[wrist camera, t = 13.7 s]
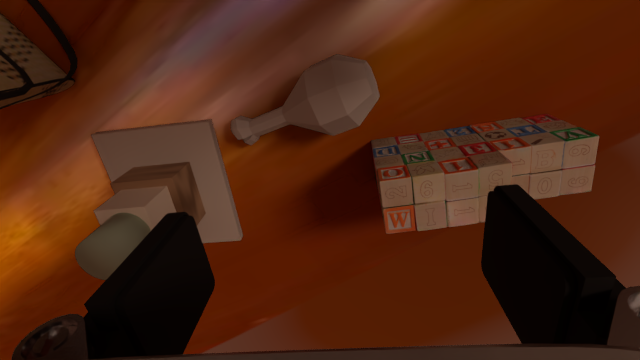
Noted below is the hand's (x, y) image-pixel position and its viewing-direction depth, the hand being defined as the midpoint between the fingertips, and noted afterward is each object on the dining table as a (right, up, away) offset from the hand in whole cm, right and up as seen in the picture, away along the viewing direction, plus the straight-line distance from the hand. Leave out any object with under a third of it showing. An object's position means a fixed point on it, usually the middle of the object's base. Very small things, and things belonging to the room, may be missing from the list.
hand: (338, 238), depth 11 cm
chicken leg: (-3, +11, +31) cm, 33 cm away
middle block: (-22, -2, +31) cm, 38 cm away
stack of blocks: (+17, +6, +32) cm, 37 cm away
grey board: (-21, +1, +37) cm, 43 cm away
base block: (-21, 0, +36) cm, 42 cm away
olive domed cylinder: (-22, -4, +27) cm, 35 cm away
